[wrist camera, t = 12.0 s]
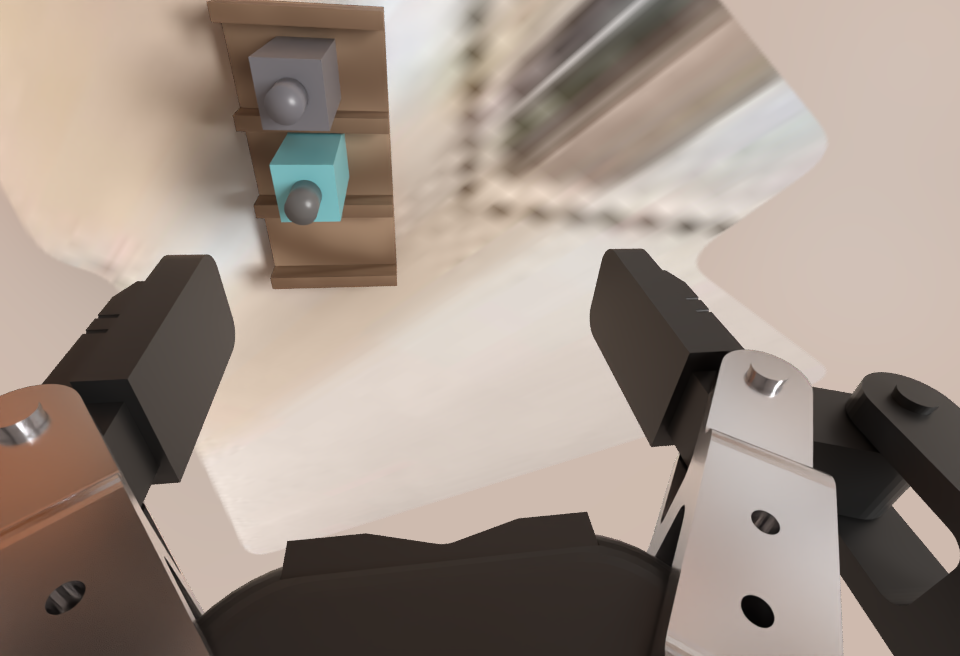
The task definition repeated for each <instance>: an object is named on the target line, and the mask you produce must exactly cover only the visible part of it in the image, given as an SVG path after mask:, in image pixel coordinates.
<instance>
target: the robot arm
mask: <svg viewBox="0 0 960 656" xmlns="http://www.w3.org/2000/svg"><path fill="white" fill-rule="evenodd" d="M98 316H99V317H98V319H94V321H93V322H92V323H91V324H90V326H89V327H88V328H87V329H86V334H82V335H81V337H80V338H79V339H78V340H77V342H76V343H75V344H74V345H73V347H72V348H71V349H70V350H69V351H68V353H67V354H66V355H65V356H64V358H63V359H62V360H61V361H60V362H59V364H58V365H57V366H56V367H55V369H54V370H53V371H52V372H51V374H50V375H49V376H48V377H47V379H46V380H45V381H44V382H43V383H42V385H35V386H29V387H25V388H21V389H17V390H14V391H11V392H8V393H6V394H3V395H1V396H0V656H843V637H842V612H841V590H840V575H841V577H842V578H843V580H844V581H845V582H846V584H847V586H848V587H849V588H850V590H851V592H852V593H853V594H854V596H855V598H856V599H857V601H858V602H859V604H860V605H861V607H862V608H863V610H864V611H865V613H866V614H867V616H868V617H869V619H870V620H871V622H872V623H873V625H874V626H875V628H876V629H877V631H878V632H879V634H880V636H881V637H882V639H883V640H884V642H885V643H886V645H887V646H888V648H889V649H890V651H891V652H892V654H893V655H894V656H960V561H959V564H958V566H957V567H956V568H955V569H954V570H953V571H952V572H950V573H949V574H948V573H947V571H946V570H945V569H944V568H943V566H942V565H941V564H940V563H939V562H938V561H937V559H936V558H935V557H934V556H933V554H932V553H931V552H930V551H929V550H928V548H927V547H926V546H925V545H924V544H923V542H922V541H921V540H920V539H919V538H918V536H917V535H916V534H915V533H914V532H913V531H912V529H911V528H910V527H909V526H908V525H907V523H906V522H905V521H904V520H903V519H902V517H901V516H900V515H899V514H898V513H897V511H896V510H895V509H894V508H893V507H892V504H893V503H894V502H895V501H896V500H897V499H898V498H899V497H900V496H901V495H902V494H903V493H904V492H905V491H906V490H907V489H908V488H909V487H910V486H911V487H912V488H913V490H914V491H915V492H916V493H917V494H918V495H919V496H920V497H921V498H922V500H923V501H924V502H925V503H926V504H927V505H928V506H929V507H930V508H931V510H932V511H933V512H934V513H935V514H936V515H937V516H938V517H939V518H940V519H941V521H942V522H943V523H944V524H945V525H946V526H947V527H948V528H949V530H950V531H951V532H952V533H953V535H954V536H955V538H956V540H957V542H958V545H959V549H960V408H959V407H958V406H957V405H956V404H954V403H953V402H952V401H951V400H950V399H948V398H947V397H946V396H944V395H943V394H941V393H940V392H938V391H937V390H935V389H933V388H931V387H930V386H928V385H926V384H924V383H921V382H919V381H917V380H914V379H912V378H909V377H906V376H902V375H898V374H893V373H886V372H885V373H884V372H878V373H871V374H869V375H867V376H865V377H864V378H863V380H862V381H861V383H860V384H859V385H858V387H857V388H856V390H855V391H854V392H853V394H851V393H845V392H839V391H834V390H827V389H822V388H816V387H812V386H811V383H810V382H809V380H808V379H807V377H806V376H805V375H804V374H803V373H802V372H801V371H800V370H798V369H797V368H796V367H794V366H793V365H792V364H790V363H788V362H787V361H785V360H783V359H781V358H779V357H776V356H774V355H771V354H768V353H765V352H761V351H756V350H745V349H744V348H743V347H742V346H741V345H740V344H739V342H738V341H737V340H736V339H735V338H734V337H733V336H732V335H731V333H730V332H729V331H728V330H727V329H726V328H725V327H724V326H723V324H722V323H721V322H720V321H719V320H718V319H717V318H716V317H715V315H714V314H713V313H712V312H709V309H708V308H707V306H706V305H705V304H704V303H703V302H702V301H701V300H698V296H697V295H696V294H695V293H694V292H693V291H692V289H691V288H690V287H689V286H688V285H687V284H686V283H685V282H684V281H682V280H680V279H679V278H677V277H675V276H674V275H672V274H671V273H669V272H667V271H666V270H662V269H661V268H660V267H659V266H658V265H657V264H656V262H655V261H654V260H653V259H652V258H651V257H650V255H649V254H648V253H647V252H646V251H645V250H644V249H609V250H607V251H606V252H605V254H604V256H603V258H602V262H601V266H600V270H599V275H598V279H597V283H596V287H595V292H594V296H593V300H592V304H591V309H590V327H591V331H592V334H593V337H594V339H595V341H596V342H597V344H598V346H599V348H600V350H601V352H602V354H603V356H604V358H605V360H606V362H607V363H608V365H609V367H610V369H611V371H612V373H613V375H614V377H615V379H616V381H617V383H618V385H619V386H620V388H621V390H622V392H623V394H624V396H625V398H626V400H627V402H628V404H629V406H630V407H631V409H632V411H633V413H634V415H635V417H636V419H637V421H638V423H639V425H640V427H641V428H642V430H643V432H644V434H645V436H646V438H647V440H648V442H649V444H650V446H651V447H657V446H667V445H668V446H669V445H675V446H676V448H677V450H678V451H679V454H678V456H677V458H676V461H675V463H674V465H673V469H672V472H671V475H670V479H669V482H668V486H667V489H666V493H665V496H664V500H663V503H662V506H661V510H660V513H659V517H658V520H657V523H656V527H655V530H654V534H653V537H652V540H651V543H650V546H649V548H648V551H647V552H645V551H643V550H641V549H639V548H637V547H635V546H632V545H630V544H627V543H624V542H622V541H619V540H616V539H612V538H609V537H605V536H601V535H595V533H594V530H593V528H592V525H591V522H590V519H589V516H588V513H587V512H580V513H570V514H560V515H550V516H540V517H529V518H519V519H516V520H513V521H511V522H508V523H505V524H502V525H500V526H497V527H494V528H491V529H489V530H486V531H483V532H481V533H478V534H475V535H472V536H469V537H467V538H464V539H461V540H459V541H456V542H453V543H449V544H433V543H427V542H420V541H414V540H407V539H400V538H392V537H386V536H380V535H373V534H356V535H346V536H336V537H325V538H315V539H305V540H295V541H287V546H286V553H285V557H284V563H283V567H281V568H278V569H276V570H273V571H270V572H268V573H266V574H264V575H262V576H260V577H258V578H256V579H254V580H251V581H250V582H248V583H246V584H245V585H243V586H241V587H240V588H238V589H236V590H235V591H233V592H231V593H230V594H229V595H227V596H226V597H225V598H223V599H222V600H221V601H219V602H218V603H217V604H215V605H214V606H212V607H211V608H210V609H209V610H208V611H207V612H206V613H204V611H203V609H202V608H201V606H200V604H199V602H198V601H197V599H196V597H195V595H194V594H193V592H192V590H191V588H190V586H189V585H188V583H187V581H186V579H185V577H184V575H183V573H182V571H181V569H180V568H179V566H178V564H177V562H176V560H175V558H174V556H173V554H172V553H171V551H170V549H169V547H168V545H167V543H166V541H165V539H164V537H163V536H162V534H161V532H160V530H159V528H158V526H157V524H156V522H155V521H154V519H153V517H152V515H151V513H150V511H149V509H148V508H147V506H146V505H145V503H144V499H145V497H146V495H147V493H148V490H149V488H150V486H151V485H152V484H166V483H178V482H180V481H181V479H182V476H183V474H184V471H185V469H186V466H187V464H188V461H189V459H190V456H191V454H192V451H193V449H194V446H195V444H196V441H197V439H198V436H199V434H200V431H201V429H202V426H203V424H204V421H205V419H206V416H207V414H208V411H209V409H210V406H211V404H212V401H213V399H214V396H215V394H216V391H217V389H218V386H219V384H220V381H221V379H222V376H223V374H224V371H225V369H226V366H227V364H228V361H229V359H230V356H231V354H232V351H233V348H234V342H235V327H234V321H233V317H232V314H231V311H230V308H229V304H228V301H227V298H226V294H225V291H224V288H223V284H222V281H221V278H220V274H219V271H218V268H217V265H216V263H215V261H214V259H213V258H212V256H210V255H166V256H164V257H163V258H162V259H161V260H160V262H159V263H158V264H157V266H156V267H155V268H154V270H153V271H152V272H151V274H150V275H149V276H148V278H147V279H146V280H145V281H137V282H135V283H134V284H132V285H131V286H129V287H128V288H126V289H124V290H123V291H121V292H120V293H118V294H117V295H115V296H114V297H112V299H111V300H110V301H109V302H108V303H107V305H106V306H105V307H104V308H103V310H102V311H101V312H100V313H99V314H98Z"/></svg>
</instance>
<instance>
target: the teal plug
mask: <svg viewBox="0 0 960 656" xmlns="http://www.w3.org/2000/svg"><path fill="white" fill-rule="evenodd" d="M270 170H271V175H272V180H273V185H274V189H275V194H276V199H277V204H278V209H279V213H280V218H281V222H293V223H295V224H298V225H308V224H311V223H312V222H336V221H341V217H342V212H343V207H344V201H345V196H346V191H347V186H348V181H349V169H348V160H347V151H346V142H345V133H297V132H288V133H287V135H286V137H285V139H284V140H283V142H282V144H281V145H280V147H279V149H278V151H277V152H276V154H275V156H274V158H273V159H272V161H271V163H270Z"/></svg>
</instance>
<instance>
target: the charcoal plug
mask: <svg viewBox="0 0 960 656" xmlns="http://www.w3.org/2000/svg"><path fill="white" fill-rule="evenodd" d="M248 58H249V63H250V68H251V73H252V78H253V83H254V88H255V93H256V98H257V103H258V108H259V113H260V118H261V123H262V128H263V130H295V131H330V129H331V126H332V123H333V120H334V117H335V115H336V112H337V109H338V106H339V103H340V100H341V91H340V82H339V72H338V62H337V53H336V43H335V39H333V38H311V37H290V36H276V37H275V38H274V39H272V40H271V41H269V42H268V43H267V44H265V45H264V46H263V47H261V48H260V49H258V50H257V51H256V52H254V53H253V54H252V55H250V56H249V57H248Z"/></svg>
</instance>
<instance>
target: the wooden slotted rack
mask: <svg viewBox="0 0 960 656" xmlns="http://www.w3.org/2000/svg"><path fill="white" fill-rule="evenodd" d="M207 6H208V10H209V14H210V19H211V22H219V23H222V27H223V32H224V36H225V41H226V45H227V50H228V54H229V59H230V64H231V68H232V73H233V77H234V82H235V86H236V91H237V95H238V100H239V104H240V109H239V110H238V111H237V112H236V113H235V114H234V115H233V118H234V123H235V127H236V131H244V132H246V136H247V141H248V145H249V150H250V154H251V159H252V163H253V168H254V173H255V177H256V182H257V186H258V191H259V196H258V198H257V200H256V202H255V204H254V209H255V214H256V218H265V222H266V227H267V232H268V236H269V241H270V245H271V250H272V254H273V259H274V263H275V268H274V270H273V273H272V276H271V278H270V279H271V283H272V288H273V289H292V288H331V287H369V286H397V264H396V244H395V224H394V204H393V184H392V164H391V144H390V124H389V104H388V84H387V64H386V45H385V25H384V7H376V6H358V5H340V4H323V3H305V2H287V1H270V0H212V1H208V2H207ZM276 36H290V37H311V38H333V39H335V43H336V53H337V62H338V72H339V82H340V91H341V100H340V103H339V106H338V109H337V112H336V115H335V117H334V120H333V123H332V126H331V129H330V131H295V130H263V128H262V123H261V118H260V113H259V108H258V103H257V98H256V93H255V88H254V83H253V78H252V73H251V68H250V63H249V58H248V57H249V56H250V55H252V54H253V53H254V52H256V51H257V50H258V49H260V48H261V47H263V46H264V45H265V44H267V43H268V42H269V41H271V40H272V39H274V38H275V37H276ZM288 132H297V133H345V142H346V151H347V160H348V169H349V181H348V186H347V191H346V196H345V201H344V207H343V212H342V217H341V221H336V222H312V223H311V224H308V225H298V224H295V223H293V222H281V218H280V213H279V209H278V204H277V199H276V194H275V189H274V185H273V180H272V175H271V170H270V163H271V161H272V159H273V158H274V156H275V154H276V152H277V151H278V149H279V147H280V145H281V144H282V142H283V140H284V139H285V137H286V135H287V133H288Z"/></svg>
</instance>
